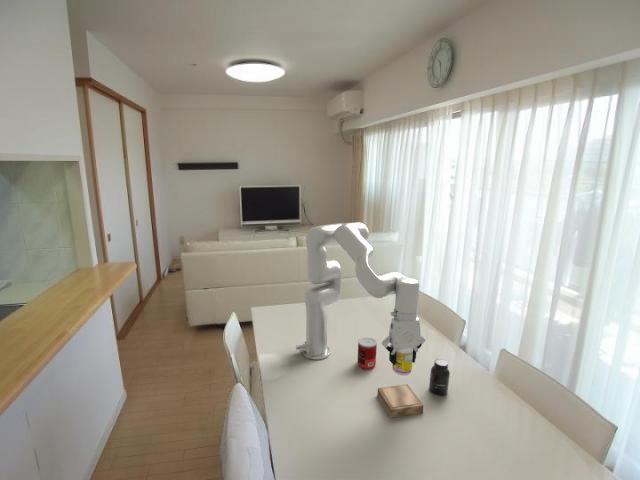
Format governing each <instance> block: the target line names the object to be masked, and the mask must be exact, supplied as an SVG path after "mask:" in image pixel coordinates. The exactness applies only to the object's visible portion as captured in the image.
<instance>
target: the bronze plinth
mask: <svg viewBox="0 0 640 480" xmlns="http://www.w3.org/2000/svg"><path fill="white" fill-rule="evenodd" d="M376 396H377V397H378V399H379V401H380V402H381V404H382V406H383V407H384V409H385V410H386V412H387V414H388V416H389V417H390V418H391V419H392V418H398V417H403V416H411V415H412V416H413V415H417V414H423V413H424V404H423V403H422V401H421V400H420V399H419V397H418V396H417V395H416V394H415V392H414V391H413V389H412V388H411V387H410V386H409V384H400V385H399V384H398V385H392V386H385V387H377V395H376Z"/></svg>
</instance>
